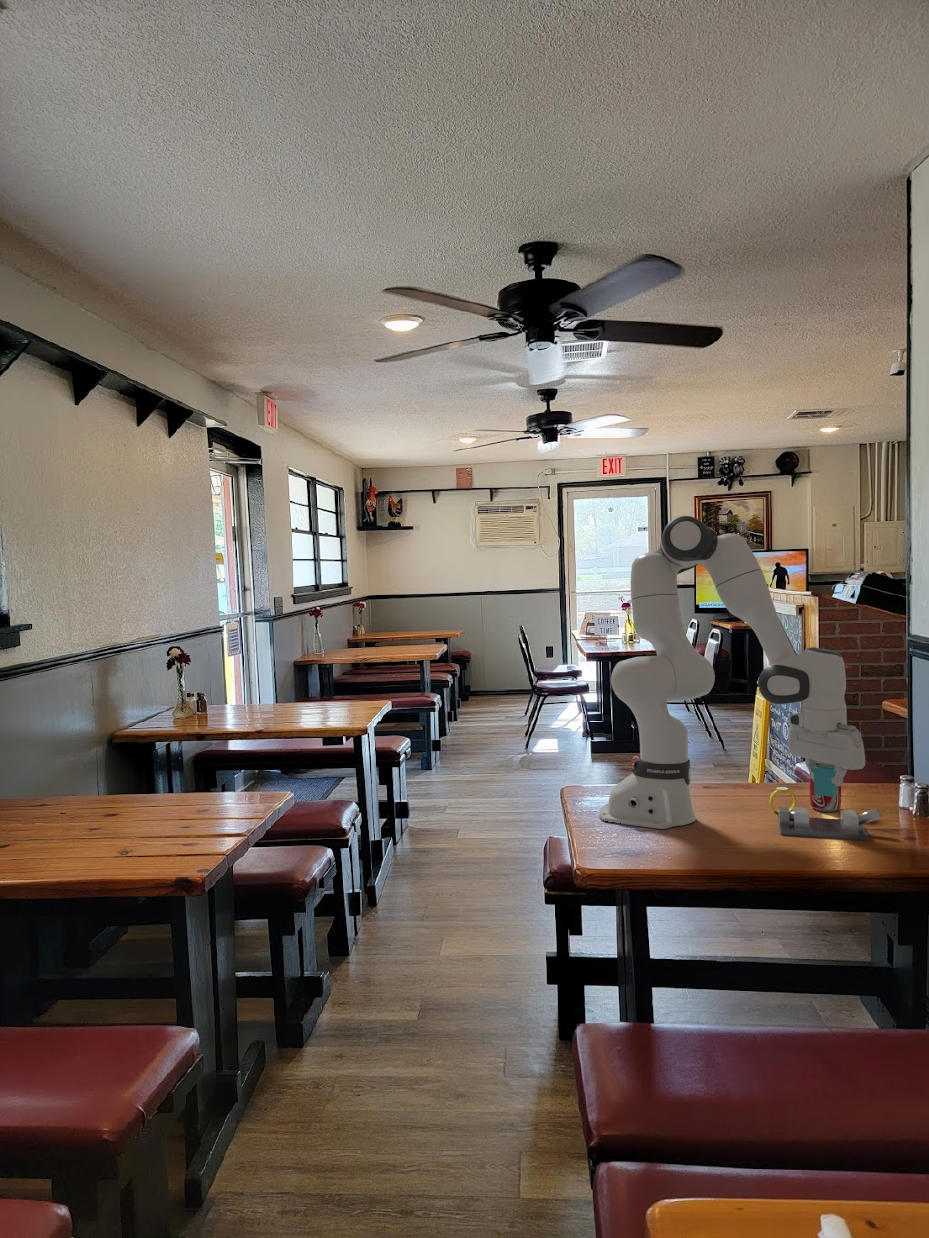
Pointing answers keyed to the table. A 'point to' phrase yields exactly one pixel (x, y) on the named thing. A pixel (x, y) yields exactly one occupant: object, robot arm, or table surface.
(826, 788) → the block
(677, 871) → the table surface
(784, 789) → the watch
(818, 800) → the soda can
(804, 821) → the shaft frame
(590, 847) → the table surface
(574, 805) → the table surface
